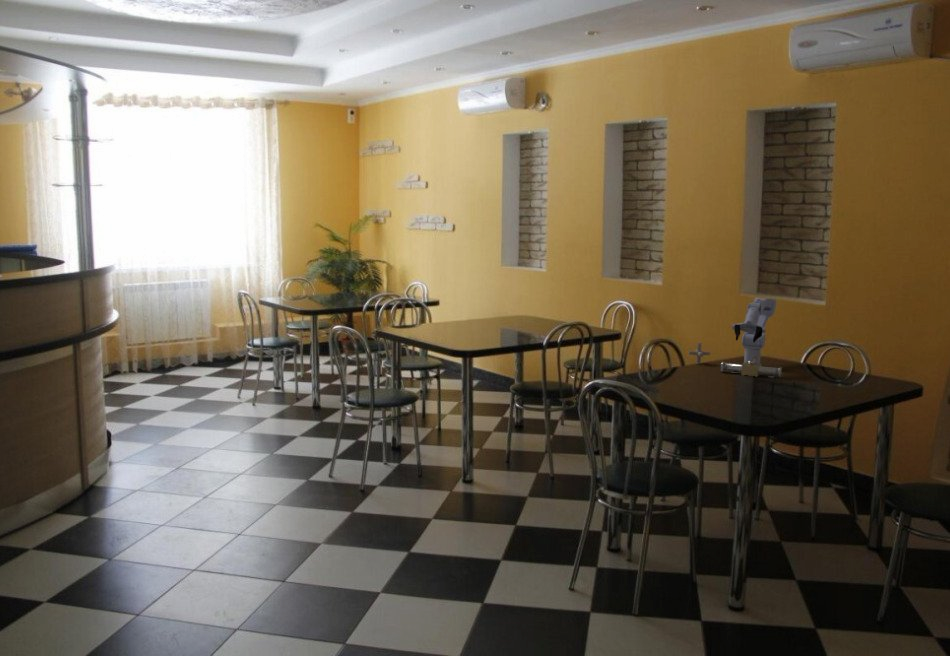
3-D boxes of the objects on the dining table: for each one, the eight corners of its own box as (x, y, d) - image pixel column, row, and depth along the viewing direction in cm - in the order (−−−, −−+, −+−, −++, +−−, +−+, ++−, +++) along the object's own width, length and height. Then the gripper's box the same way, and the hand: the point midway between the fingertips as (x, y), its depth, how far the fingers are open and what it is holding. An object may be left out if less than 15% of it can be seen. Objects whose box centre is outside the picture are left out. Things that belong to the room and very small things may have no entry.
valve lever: (753, 364, 385) (754, 361, 385) (747, 364, 387) (747, 361, 387) (758, 360, 398) (758, 357, 397) (752, 359, 399) (752, 356, 399)
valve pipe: (722, 370, 397) (723, 360, 396) (781, 376, 385) (782, 365, 384) (719, 372, 391) (720, 362, 390) (779, 379, 379) (780, 368, 379)
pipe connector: (711, 365, 409) (712, 344, 408) (690, 365, 409) (691, 344, 408) (706, 361, 419) (707, 341, 418) (685, 361, 419) (686, 341, 418)
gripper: (735, 312, 399) (728, 331, 390) (767, 316, 392) (761, 335, 383) (735, 324, 403) (729, 342, 394) (767, 327, 397) (761, 346, 388)
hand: (745, 339), depth 389 cm, fingers open, 7 cm apart
